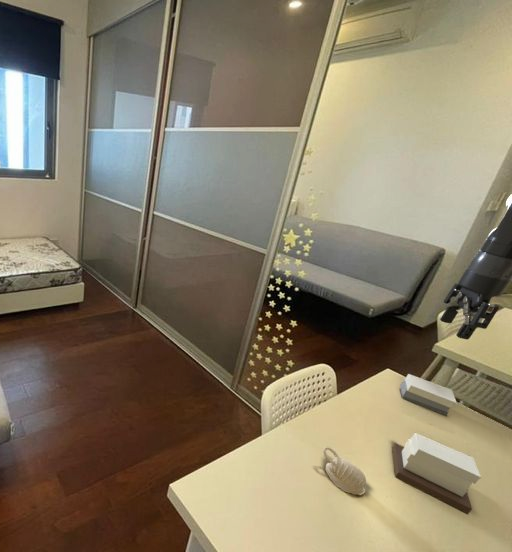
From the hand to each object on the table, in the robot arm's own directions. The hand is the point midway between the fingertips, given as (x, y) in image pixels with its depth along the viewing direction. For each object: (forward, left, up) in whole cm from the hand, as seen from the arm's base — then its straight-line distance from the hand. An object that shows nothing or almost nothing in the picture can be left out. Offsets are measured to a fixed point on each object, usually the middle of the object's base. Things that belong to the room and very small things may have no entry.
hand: (453, 329), depth 82 cm
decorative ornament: (+16, +46, -22) cm, 53 cm away
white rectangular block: (-1, +5, -17) cm, 18 cm away
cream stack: (+1, +33, -21) cm, 39 cm away
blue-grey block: (-1, +5, -21) cm, 22 cm away
